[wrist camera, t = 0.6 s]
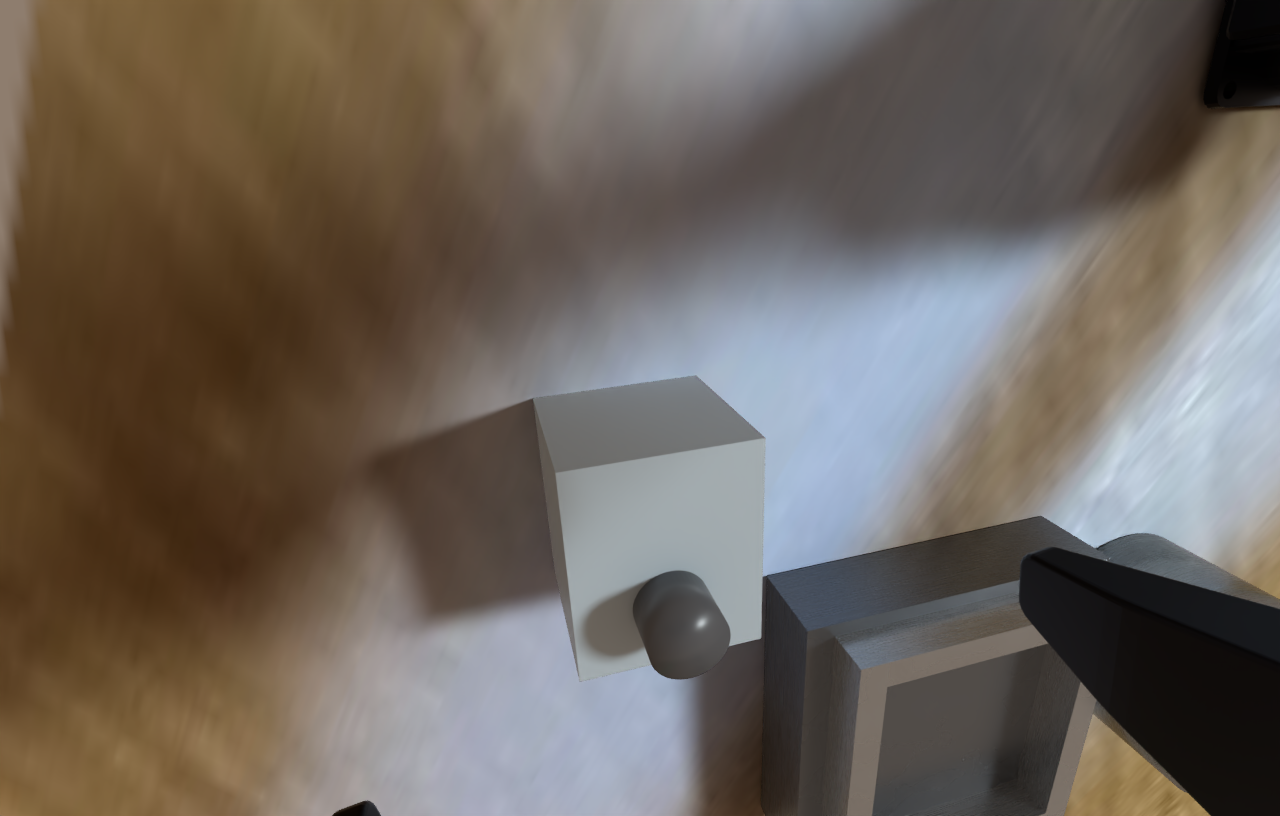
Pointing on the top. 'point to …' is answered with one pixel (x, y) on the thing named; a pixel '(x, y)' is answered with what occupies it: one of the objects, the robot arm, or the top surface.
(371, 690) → the top surface
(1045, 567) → the robot arm
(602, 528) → the block
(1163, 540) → the motor mount
